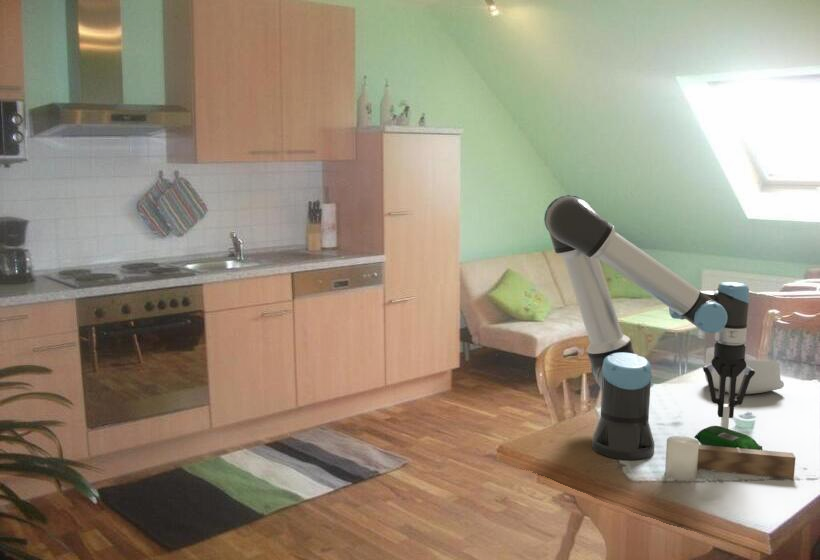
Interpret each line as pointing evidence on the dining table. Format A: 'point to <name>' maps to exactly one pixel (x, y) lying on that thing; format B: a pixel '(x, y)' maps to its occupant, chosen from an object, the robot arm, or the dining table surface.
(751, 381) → the bowl
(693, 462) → the white tall rounded block
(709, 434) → the snack package
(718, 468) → the batten
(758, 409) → the dining table surface
